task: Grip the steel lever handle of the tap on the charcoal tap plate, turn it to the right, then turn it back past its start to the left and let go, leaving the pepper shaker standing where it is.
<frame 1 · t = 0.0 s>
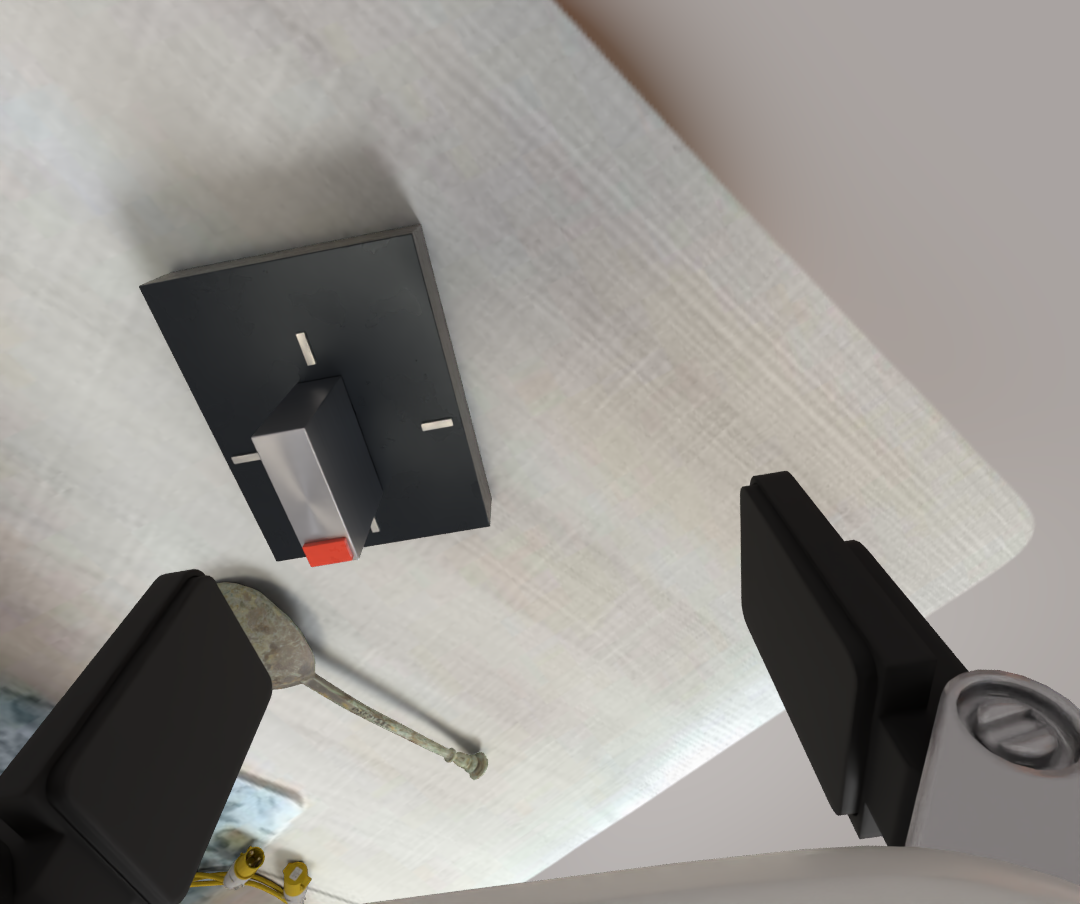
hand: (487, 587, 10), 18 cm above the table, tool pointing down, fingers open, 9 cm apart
soupspoon: (356, 680, 38), on the table
extension cord: (248, 893, 50), on the table
tap plate: (348, 397, 28), on the table
tap handle: (325, 470, 24), point 5 cm above the table, hinge at 0.0°
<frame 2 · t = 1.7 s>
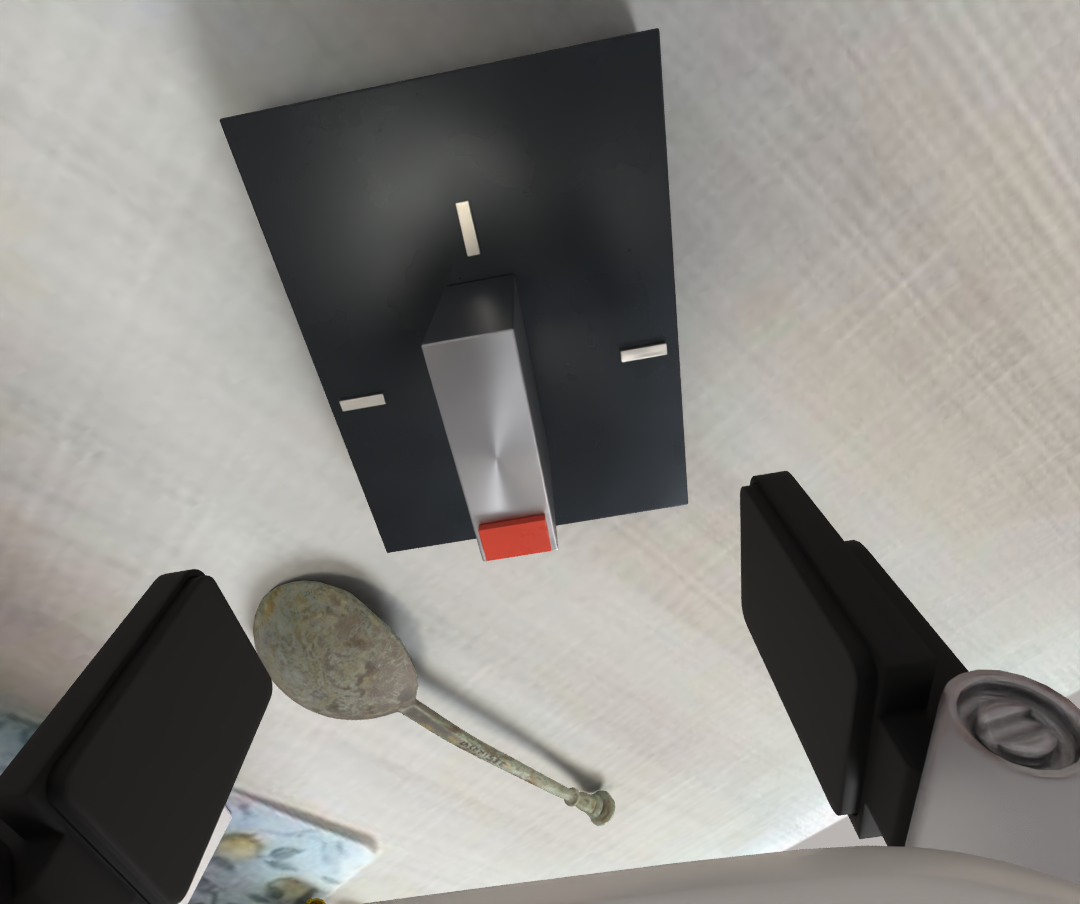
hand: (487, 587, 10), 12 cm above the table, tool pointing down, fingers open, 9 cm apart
soupspoon: (458, 704, 30), on the table
tap plate: (497, 320, 20), on the table
pepper shaker: (184, 805, 33), on the table
tap handle: (499, 414, 16), point 5 cm above the table, hinge at 0.0°
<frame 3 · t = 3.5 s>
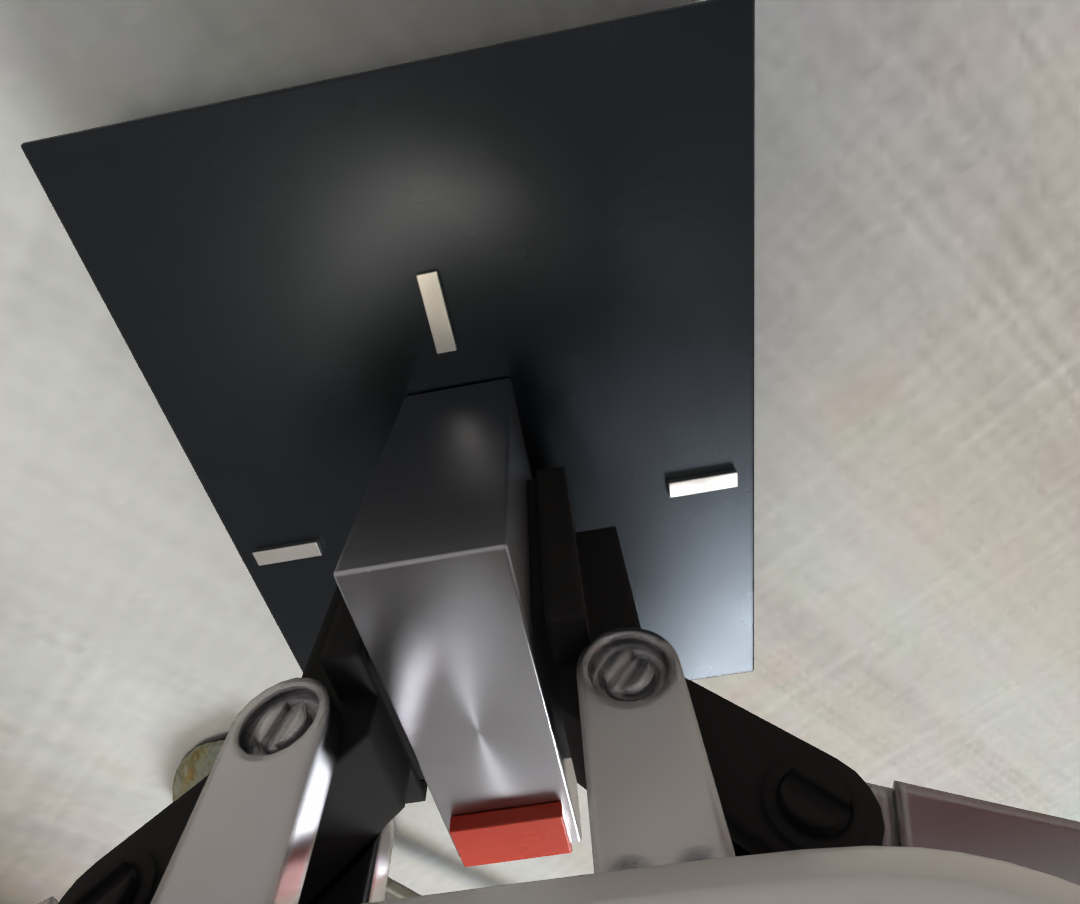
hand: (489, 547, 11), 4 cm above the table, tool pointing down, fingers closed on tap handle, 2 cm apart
soupspoon: (442, 864, 24), on the table
tap plate: (486, 421, 14), on the table
tap handle: (486, 606, 10), point 5 cm above the table, hinge at 0.0°, touching gripper
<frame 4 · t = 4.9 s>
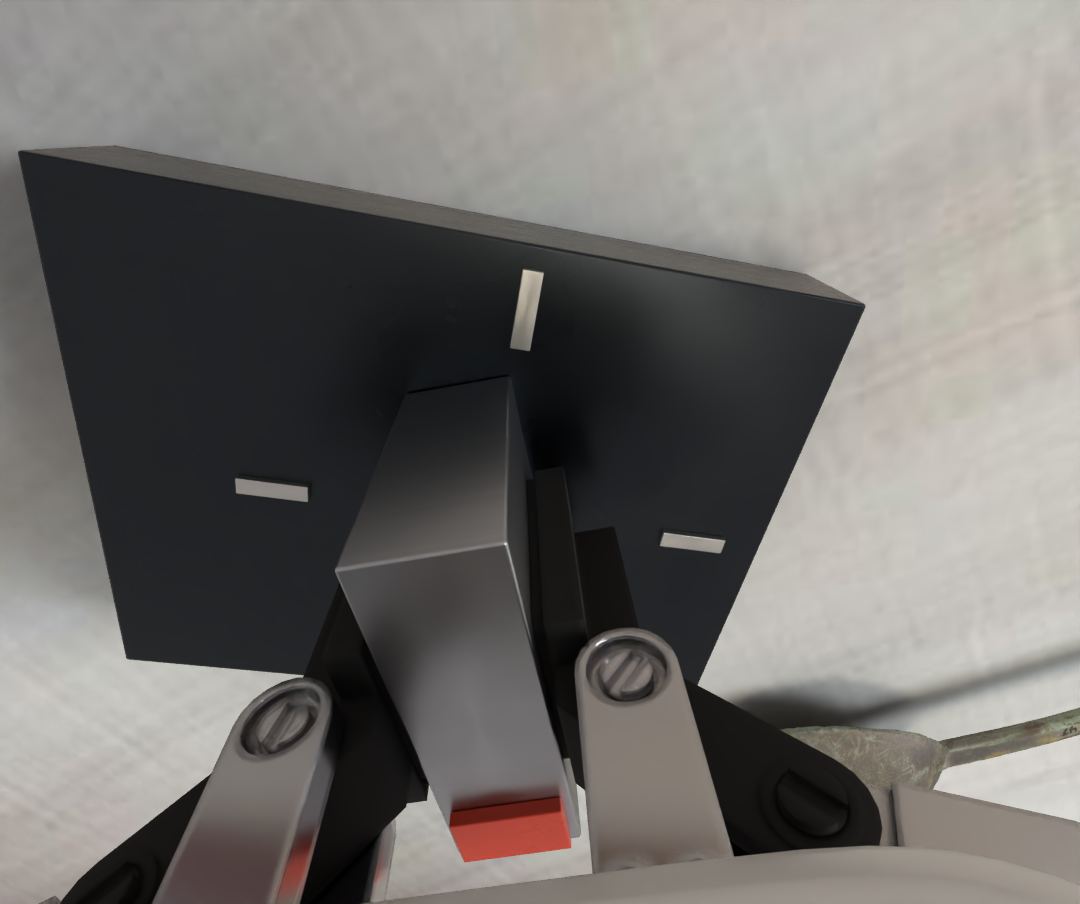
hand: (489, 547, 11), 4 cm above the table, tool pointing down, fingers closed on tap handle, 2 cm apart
soupspoon: (1005, 682, 20), on the table
tap plate: (454, 450, 15), on the table
tap handle: (486, 603, 10), point 5 cm above the table, hinge at -69.8°, touching gripper
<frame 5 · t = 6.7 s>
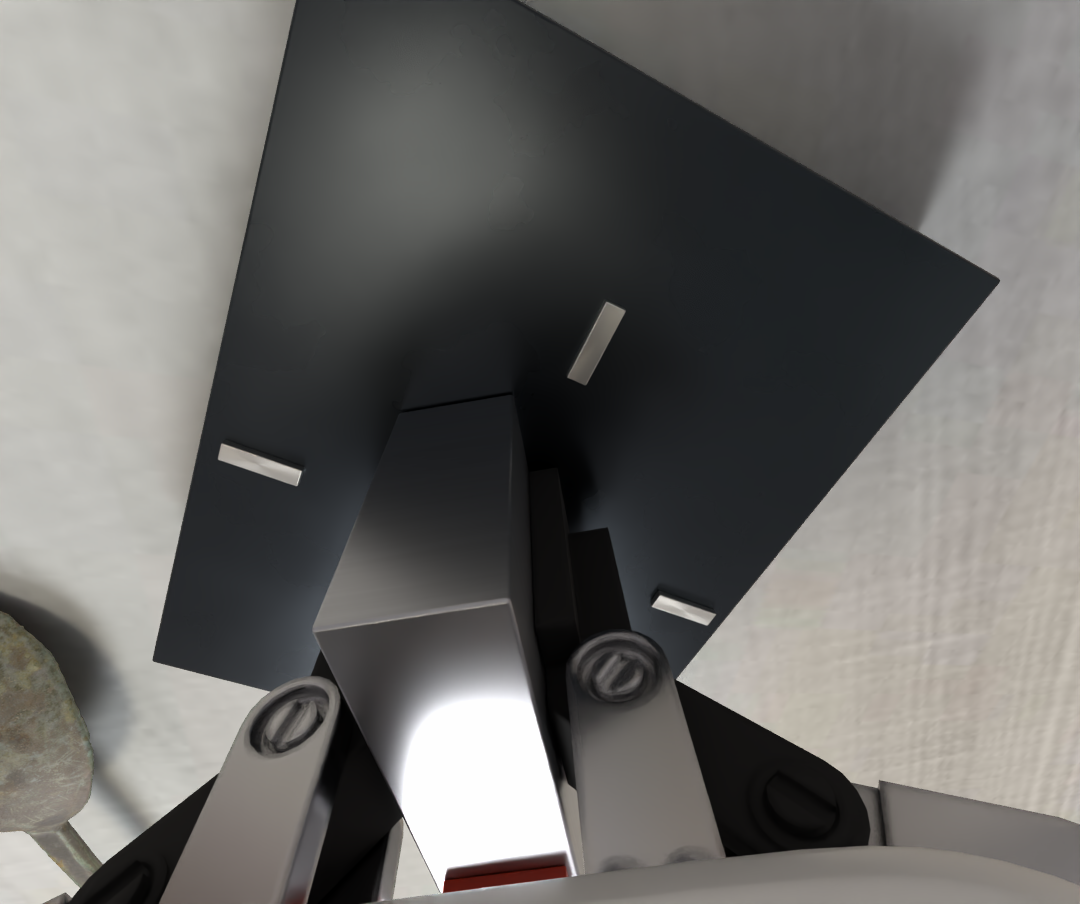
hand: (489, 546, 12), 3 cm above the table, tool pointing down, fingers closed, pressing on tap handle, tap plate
soupspoon: (128, 823, 20), on the table
tap plate: (512, 438, 13), on the table
tap handle: (484, 644, 9), point 5 cm above the table, hinge at 34.5°, touching gripper
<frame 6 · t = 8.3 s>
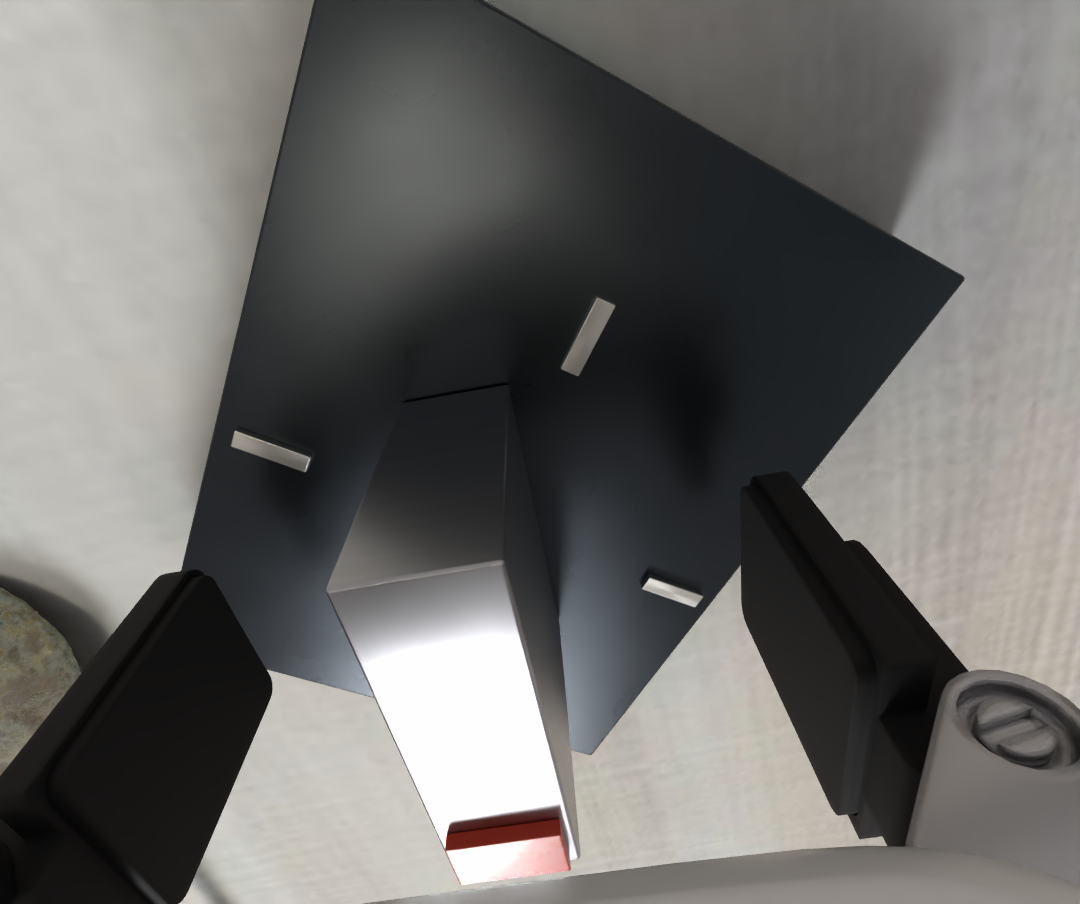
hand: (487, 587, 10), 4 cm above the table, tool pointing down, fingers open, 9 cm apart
soupspoon: (134, 808, 21), on the table
tap plate: (509, 430, 14), on the table
tap handle: (483, 618, 10), point 5 cm above the table, hinge at 34.8°
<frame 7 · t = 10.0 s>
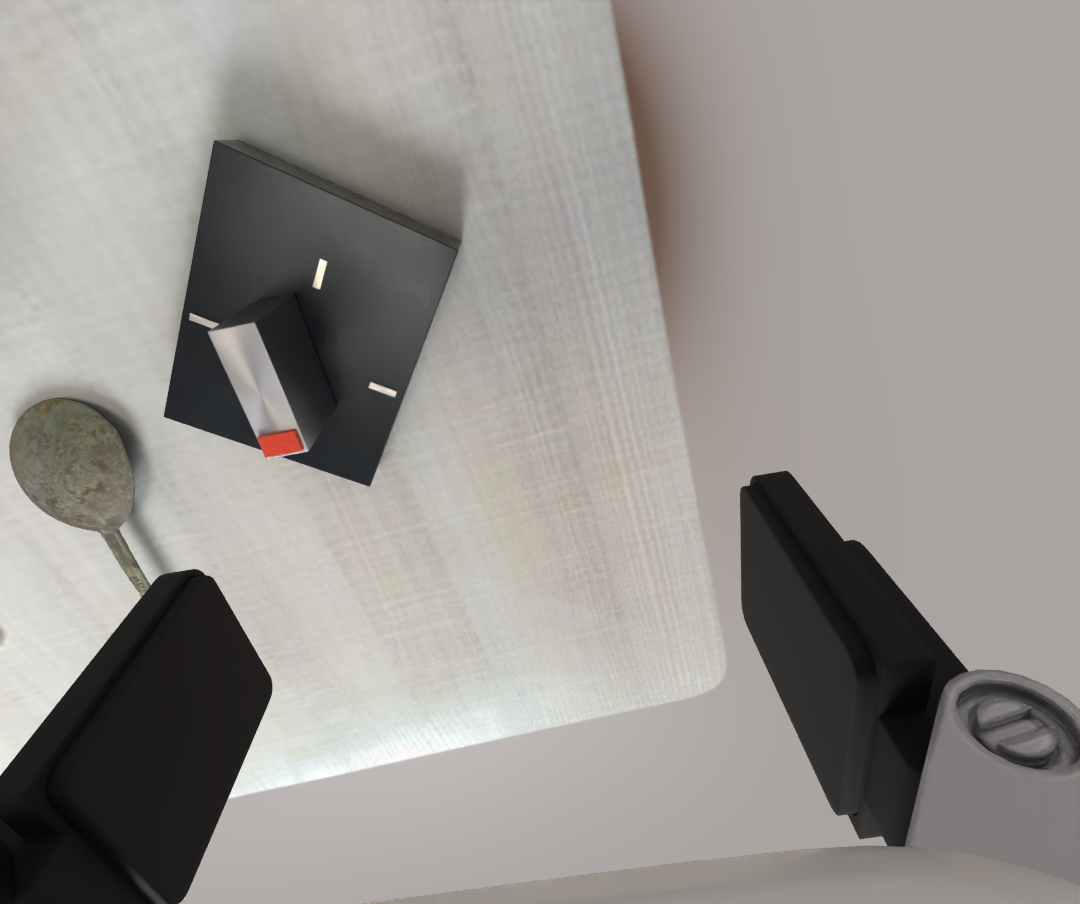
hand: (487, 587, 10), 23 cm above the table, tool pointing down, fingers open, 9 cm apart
soupspoon: (147, 553, 38), on the table
tap plate: (317, 324, 31), on the table
tap handle: (279, 375, 27), point 5 cm above the table, hinge at 34.8°
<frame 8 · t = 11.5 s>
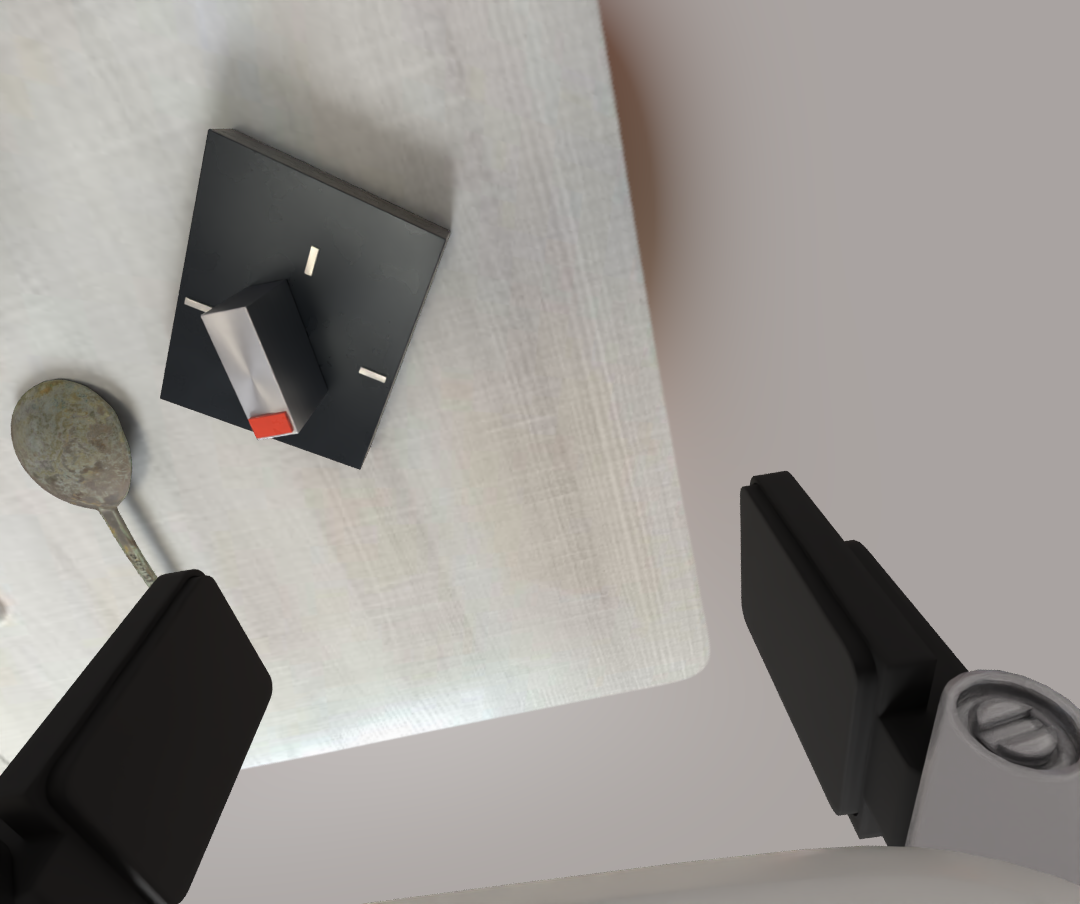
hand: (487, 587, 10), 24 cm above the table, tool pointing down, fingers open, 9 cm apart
soupspoon: (145, 532, 39), on the table
tap plate: (309, 310, 32), on the table
tap handle: (271, 358, 28), point 5 cm above the table, hinge at 34.8°
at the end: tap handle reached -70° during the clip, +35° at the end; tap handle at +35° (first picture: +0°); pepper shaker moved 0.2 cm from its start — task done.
